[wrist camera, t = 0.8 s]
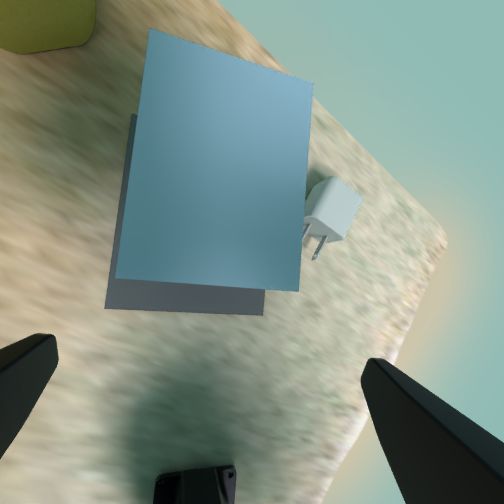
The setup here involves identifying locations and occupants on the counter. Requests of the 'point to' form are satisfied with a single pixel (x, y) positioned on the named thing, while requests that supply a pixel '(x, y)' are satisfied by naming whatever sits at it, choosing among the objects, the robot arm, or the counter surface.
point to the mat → (169, 293)
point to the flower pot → (45, 24)
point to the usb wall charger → (330, 211)
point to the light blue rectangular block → (216, 171)
